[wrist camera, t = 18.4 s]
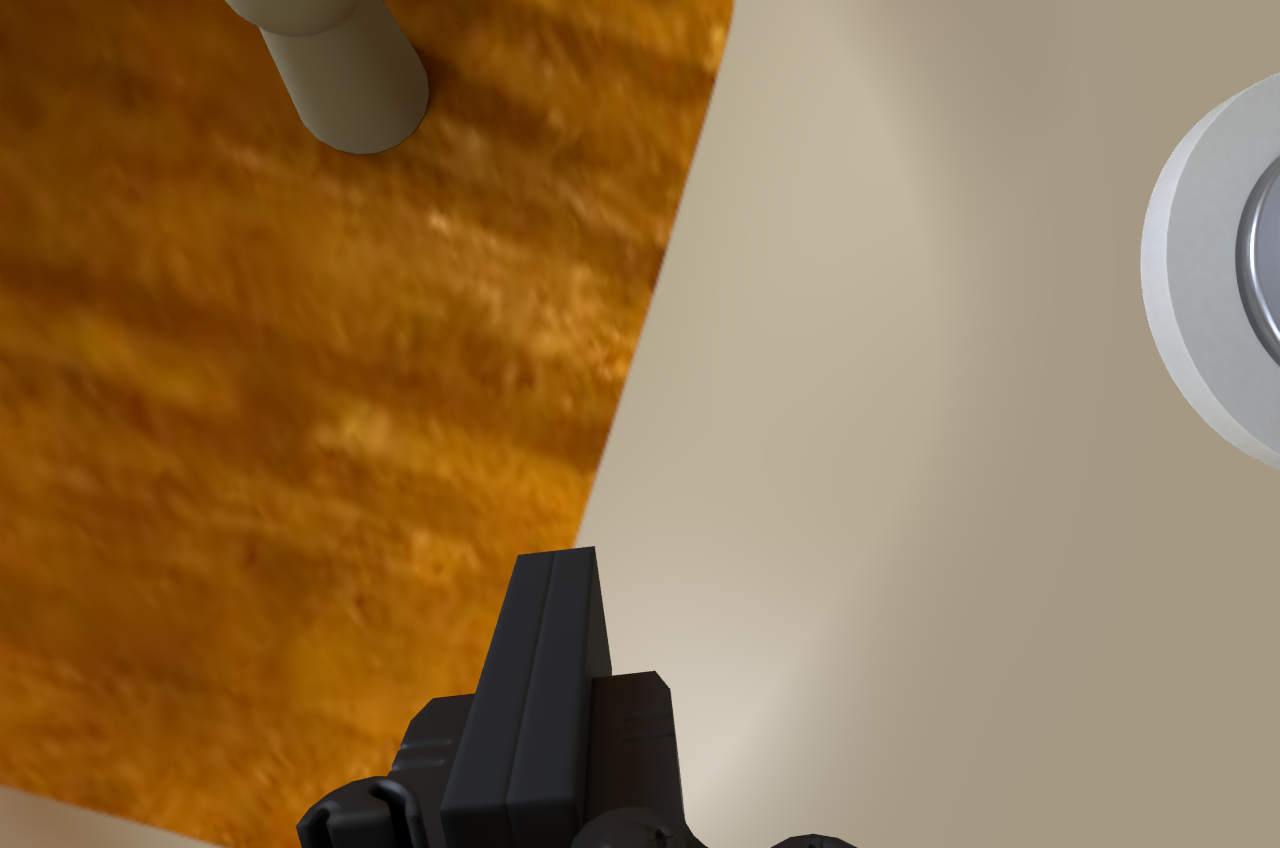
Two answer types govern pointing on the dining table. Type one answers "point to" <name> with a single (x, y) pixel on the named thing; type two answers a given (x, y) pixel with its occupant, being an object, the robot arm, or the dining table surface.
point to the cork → (344, 69)
